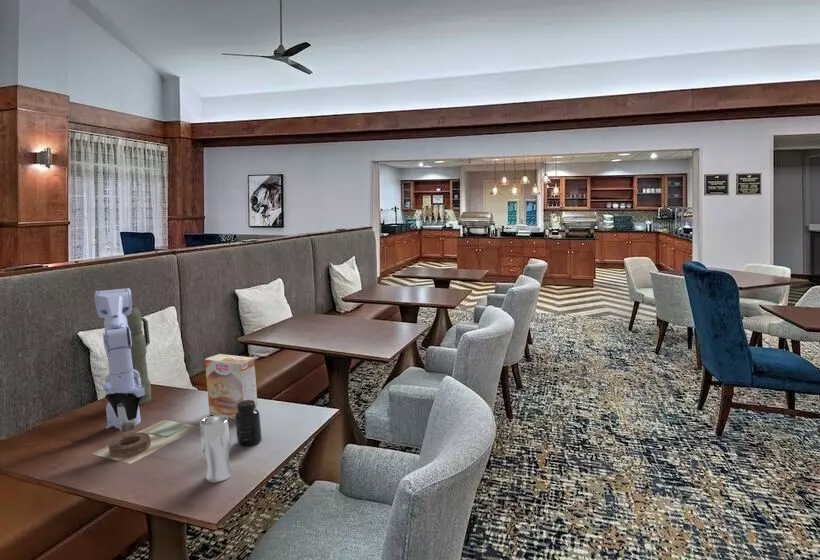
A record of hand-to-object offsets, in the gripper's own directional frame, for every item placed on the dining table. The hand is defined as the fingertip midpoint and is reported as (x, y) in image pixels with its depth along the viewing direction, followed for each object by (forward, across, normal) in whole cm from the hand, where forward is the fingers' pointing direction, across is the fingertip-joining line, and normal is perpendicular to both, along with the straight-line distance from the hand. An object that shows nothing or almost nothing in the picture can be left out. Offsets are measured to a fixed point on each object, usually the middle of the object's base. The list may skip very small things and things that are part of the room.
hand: (126, 417), depth 139 cm
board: (+10, 0, +6) cm, 12 cm away
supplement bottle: (+10, +28, +17) cm, 34 cm away
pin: (+3, 0, 0) cm, 3 cm away
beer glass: (+10, +34, -1) cm, 36 cm away
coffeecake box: (+10, +9, +31) cm, 34 cm away
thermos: (+10, -33, +28) cm, 45 cm away
